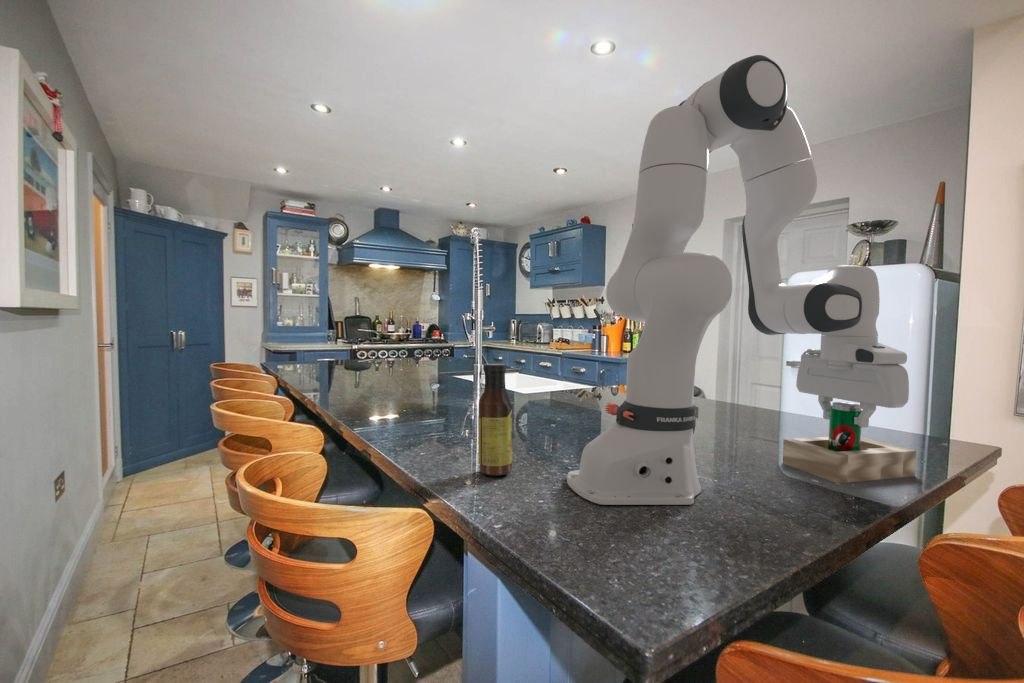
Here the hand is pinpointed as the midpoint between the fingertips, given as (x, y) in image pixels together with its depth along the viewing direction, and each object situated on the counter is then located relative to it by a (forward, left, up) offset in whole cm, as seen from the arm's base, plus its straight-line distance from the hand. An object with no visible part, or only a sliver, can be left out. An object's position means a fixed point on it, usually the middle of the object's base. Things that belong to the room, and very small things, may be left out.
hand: (844, 423), depth 90 cm
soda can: (0, 0, -8) cm, 8 cm away
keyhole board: (+1, 0, -9) cm, 9 cm away
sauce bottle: (-66, +12, -10) cm, 68 cm away
